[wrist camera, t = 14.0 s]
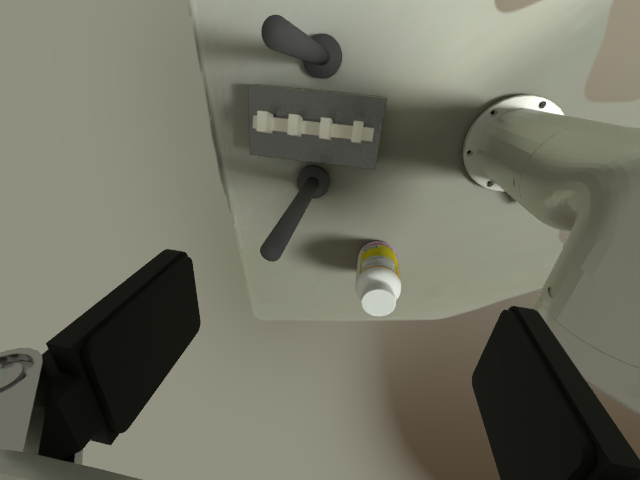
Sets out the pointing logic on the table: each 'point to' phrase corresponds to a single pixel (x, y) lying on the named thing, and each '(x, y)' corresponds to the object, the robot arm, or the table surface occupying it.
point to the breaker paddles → (312, 127)
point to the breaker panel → (312, 109)
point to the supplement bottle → (378, 278)
